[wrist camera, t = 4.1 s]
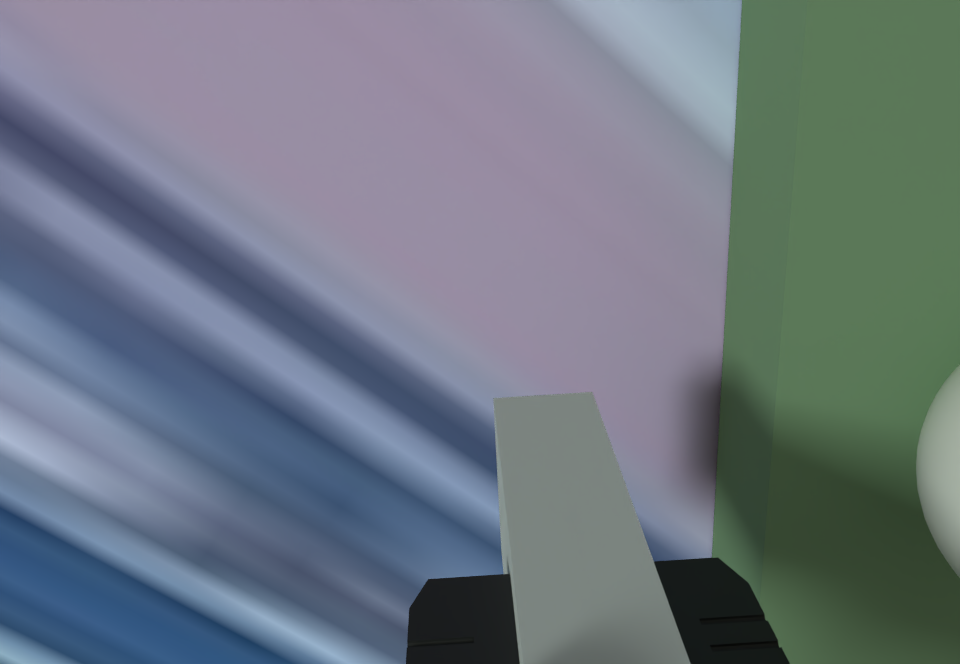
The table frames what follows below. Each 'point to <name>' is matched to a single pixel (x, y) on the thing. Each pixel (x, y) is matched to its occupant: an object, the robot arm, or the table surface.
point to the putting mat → (841, 324)
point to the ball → (942, 469)
